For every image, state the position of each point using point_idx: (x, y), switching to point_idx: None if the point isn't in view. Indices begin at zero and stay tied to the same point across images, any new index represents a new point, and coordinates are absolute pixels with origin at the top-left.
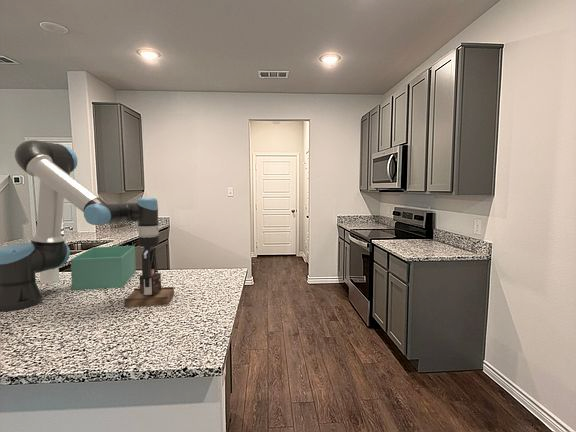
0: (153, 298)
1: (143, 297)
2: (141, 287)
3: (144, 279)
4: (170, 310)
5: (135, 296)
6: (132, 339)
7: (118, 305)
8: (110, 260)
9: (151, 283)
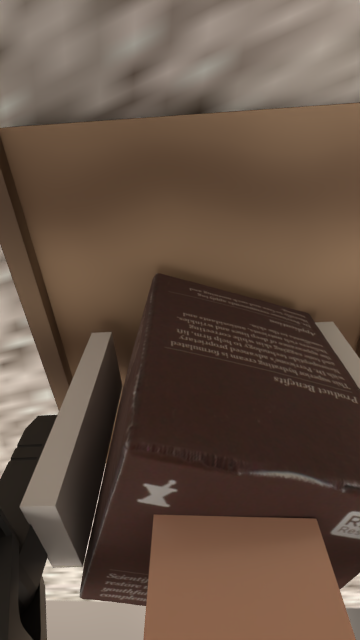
0: (56, 398)
1: (105, 307)
2: (140, 331)
3: (28, 501)
4: (3, 452)
5: (141, 215)
6: None
7: (54, 16)
8: None
9: (94, 485)
